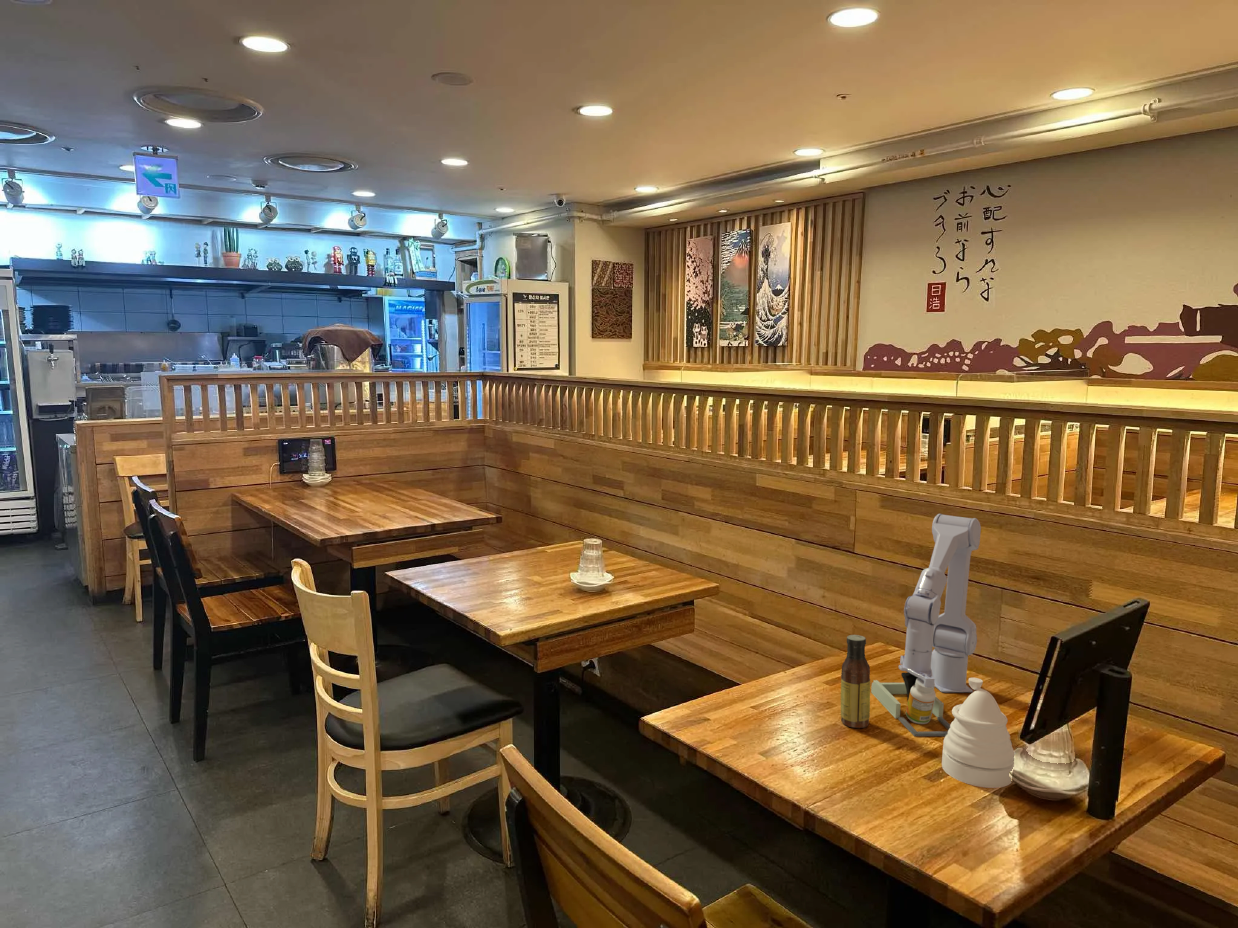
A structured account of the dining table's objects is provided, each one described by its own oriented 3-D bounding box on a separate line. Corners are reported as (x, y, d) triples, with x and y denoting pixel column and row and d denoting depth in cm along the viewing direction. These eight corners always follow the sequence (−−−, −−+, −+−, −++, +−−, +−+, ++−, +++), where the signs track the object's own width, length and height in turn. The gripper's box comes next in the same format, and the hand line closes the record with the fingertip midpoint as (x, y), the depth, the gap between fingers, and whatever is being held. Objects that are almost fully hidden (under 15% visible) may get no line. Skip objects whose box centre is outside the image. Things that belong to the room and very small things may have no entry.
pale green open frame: (871, 692, 200) (872, 678, 199) (915, 692, 200) (915, 678, 200) (895, 718, 185) (896, 703, 184) (942, 718, 185) (943, 703, 185)
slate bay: (898, 719, 184) (898, 716, 184) (941, 719, 185) (941, 716, 185) (914, 736, 176) (914, 733, 176) (959, 735, 176) (959, 733, 176)
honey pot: (927, 761, 164) (933, 675, 162) (977, 752, 169) (983, 668, 167) (976, 792, 152) (982, 700, 150) (1028, 781, 157) (1035, 691, 155)
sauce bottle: (866, 718, 184) (870, 633, 182) (871, 730, 178) (876, 642, 176) (836, 716, 185) (841, 631, 183) (841, 728, 179) (845, 640, 176)
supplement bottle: (910, 705, 188) (917, 671, 184) (933, 716, 185) (941, 681, 181) (901, 717, 184) (909, 682, 180) (925, 728, 181) (933, 692, 177)
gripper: (889, 637, 192) (885, 692, 193) (914, 659, 177) (909, 718, 179) (919, 637, 192) (914, 693, 194) (945, 659, 178) (940, 719, 179)
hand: (913, 705), depth 186 cm, fingers closed, pressing on supplement bottle
